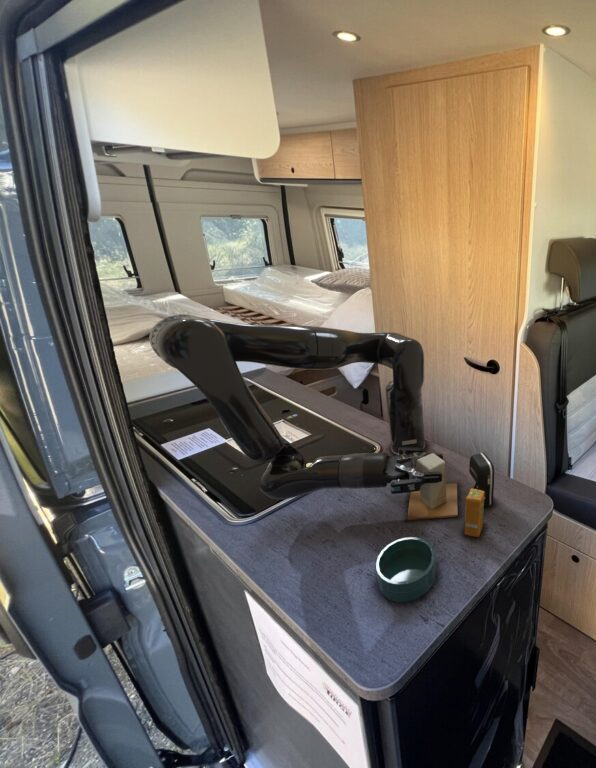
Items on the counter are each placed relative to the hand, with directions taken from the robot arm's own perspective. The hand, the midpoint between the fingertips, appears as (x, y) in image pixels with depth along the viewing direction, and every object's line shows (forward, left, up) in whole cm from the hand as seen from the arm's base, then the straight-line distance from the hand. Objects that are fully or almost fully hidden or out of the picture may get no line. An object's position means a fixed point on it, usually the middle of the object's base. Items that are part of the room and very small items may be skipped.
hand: (442, 467), depth 87 cm
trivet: (0, -2, -10) cm, 10 cm away
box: (0, -2, -9) cm, 10 cm away
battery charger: (0, +9, -10) cm, 13 cm away
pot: (+20, -6, -10) cm, 23 cm away
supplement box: (+10, +7, -10) cm, 16 cm away
